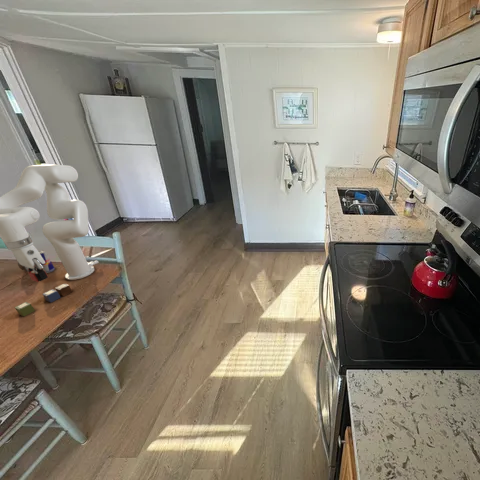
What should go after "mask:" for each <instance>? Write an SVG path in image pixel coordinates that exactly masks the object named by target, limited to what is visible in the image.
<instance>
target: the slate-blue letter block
mask: <svg viewBox="0 0 480 480" xmlns="http://www.w3.org/2000/svg"><path fill="white" fill-rule="evenodd" d="M42 296H43V298H44V299H45V301H46V302H48V303H53V302H55V301H57V300H60V299H61V295H59V294H58V292H57V291H56V289H50V290H48V291H45V292H43V293H42Z"/></svg>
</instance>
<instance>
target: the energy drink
mask: <svg viewBox="0 0 480 480" xmlns="http://www.w3.org/2000/svg"><path fill="white" fill-rule="evenodd" d="M38 252H39V253H40V255H41V256H42V258H43V259H44V261H45V264H41V263H40V264H41V265H42V266H43V267H44V268H43V269H44V270H45V272H46V274H49V273H52V272H54V271H55V270H56V268H55V266H54V264H53V263H52V260H51V259H50V257H49V255H48V253H47V252H46V251H45V250H43V249H42V250H38Z"/></svg>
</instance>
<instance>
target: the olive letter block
mask: <svg viewBox="0 0 480 480" xmlns="http://www.w3.org/2000/svg"><path fill="white" fill-rule="evenodd" d="M14 309H15V311H16V312H17V313H18V315H20V316H22V317H25V316H28V315H31V314H32V313H34V312H36V310H35V308H34V307H33V305H32V303H29V302H27V301H25V302H23V303H21V304H18V305H17V306H14Z"/></svg>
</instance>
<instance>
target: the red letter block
mask: <svg viewBox="0 0 480 480" xmlns="http://www.w3.org/2000/svg"><path fill="white" fill-rule="evenodd" d="M35 269H36V268H35ZM36 270H37V269H36ZM44 271H45V270H44ZM28 272H29V271H28ZM28 272H27V273H28ZM45 273H46V272H45ZM35 274H36V273H35V272H34V271H31V272H29V273H28V276H29V277H30V279H31V280H32V282H33V281H34V282H36V283H39V282H40V281H38V279H37V277H36V276H35ZM46 274H47V273H46ZM47 276H48V274H47ZM48 277H49V276H48Z"/></svg>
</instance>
